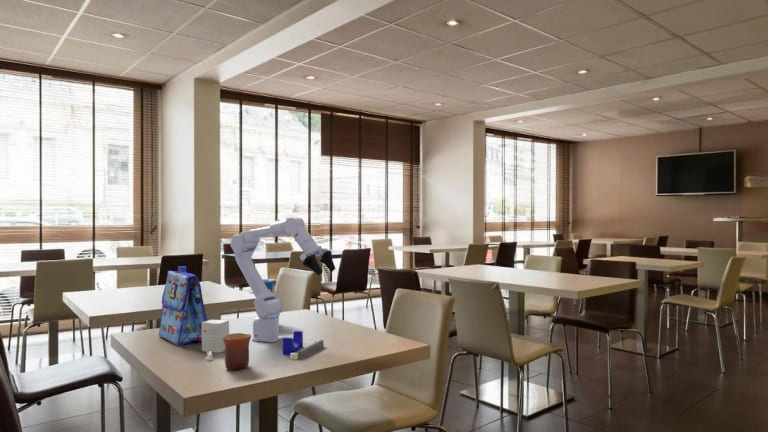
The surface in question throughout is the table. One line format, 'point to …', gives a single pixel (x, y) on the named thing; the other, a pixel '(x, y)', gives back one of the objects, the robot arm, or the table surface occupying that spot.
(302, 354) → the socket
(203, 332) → the small box
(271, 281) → the milk carton
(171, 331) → the lunch bag
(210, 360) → the power adapter
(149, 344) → the table surface
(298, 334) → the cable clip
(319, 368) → the table surface
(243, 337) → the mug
